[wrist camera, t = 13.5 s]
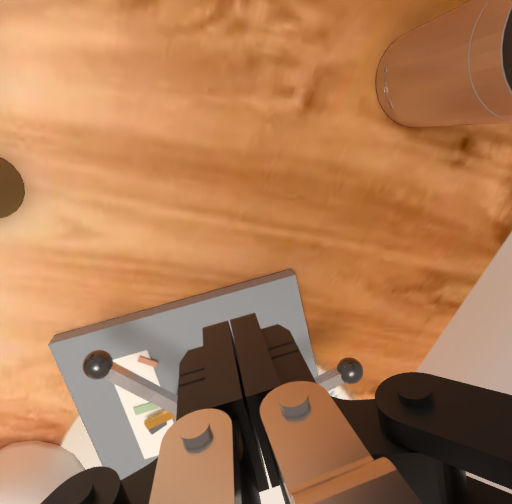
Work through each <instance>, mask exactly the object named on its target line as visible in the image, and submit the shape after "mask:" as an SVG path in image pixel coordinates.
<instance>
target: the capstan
mask: <svg viewBox="0 0 512 504" xmlns="http://www.w3.org/2000/svg"><path fill="white" fill-rule="evenodd" d="M82 368H83V372H84V373H85V375H86V376H87V377H89V378H91V379H95V380H97V379H102V378H104V379H105V380H107V381H109V382H111V383H113V384H115V385H117V386H119V387H121V388H123V389H125V390H127V391H129V392H131V393H133V394H135V395H136V396H138V397H140V398H142V399H144V400H146V401H148V402H150V403H152V404H154V405H156V406H158V407H160V408H162V409H164V410H165V411H163V412H161V413H159V414H156V415H154V416H152V417H150V418H148V419H146V420H144V425H145V426H146V428H147V429H148V430H149V429H151V428H153V427H156V426H158V425H160V424H162V423H164V422H166V421H168V420H171V419H173V418H175V417H176V414H177V398H178V389H177V392H176V395H175V394H173V393H171V392H170V391H168V390H166V389H164V388H162V387H160V386H158V385H156V384H154V383H153V382H151V381H149V380H147V379H145V378H143V377H141V376H139V375H137V374H135V373H134V372H132V371H130V370H128V369H126V368H124V367H122V366H120V365H118V364H117V363H115V362H113V359H112V357H111V355H110V354H109V353H108V352H106V351H103V350H95V351H92V352H90V353H89V354H88V355H87V356H86V357H85V359H84V361H83V365H82ZM362 376H363V368H362V365H361V364H360V362H359V361H357V360H356V359H354V358H344V359H342V360H341V361H340V362H339V364H338V366H337V368H334V369H332V370H330V371H328V372H326V373H324V374H321V375H319V376H317V377H315V378H314V379H315V381H316V383H317V384H318V385H320V386H322V387H323V388H325V389H326V391H329V390H331V389H333V388H335V387H337V386H339V385H341V384H343V383H347V384H355V383H357V382H358V381H360V379H361V378H362ZM178 388H179V386H178Z"/></svg>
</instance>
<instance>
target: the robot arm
mask: <svg viewBox="0 0 512 504" xmlns="http://www.w3.org/2000/svg"><path fill="white" fill-rule="evenodd" d="M376 91H377V95H378V99H379V102H380V104H381V106H382V108H383V110H384V111H385V112H386V114H387V115H388V116H389V117H390V118H391V119H392V120H394V121H395V122H396V123H399V124H401V125H403V126H407V127H433V126H454V125H472V124H490V123H508V122H512V0H471V1H469V2H467V3H465V4H463V5H461V6H459V7H457V8H455V9H453V10H451V11H449V12H447V13H445V14H443V15H441V16H439V17H437V18H435V19H433V20H431V21H429V22H427V23H425V24H423V25H421V26H419V27H417V28H415V29H413V30H411V31H410V32H408V33H406V34H404V35H402V36H400V37H399V38H398V39H396V40H395V41H394V42H393V43H392V44H391V45H390V46H389V48H388V49H387V50H386V52H385V53H384V55H383V57H382V59H381V61H380V64H379V67H378V70H377V77H376ZM230 323H231V327H232V332H233V335H232V332H231V329H230V325H229V322H228V321H224V322H221V323H217V324H214V325H210V326H207V327H203V328H202V332H203V346H201V347H198V348H194V349H191V350H188V351H187V352H186V354H185V355H184V357H183V359H182V360H181V362H180V365H179V381H178V386H179V388H178V398H177V414H176V422H175V423H174V424H173V425H172V426H171V427H170V428H169V429H168V430H167V432H166V433H165V435H164V437H163V439H162V442H161V446H160V451H159V456H158V457H157V458H156V459H155V460H154V461H152V462H151V463H149V464H148V465H146V466H145V467H143V468H141V469H140V470H138V471H136V472H134V473H133V474H131V475H129V476H127V477H126V478H124V479H122V480H120V478H119V475H118V474H117V472H116V471H115V470H113V469H112V468H109V467H93V468H90V469H87V470H84V471H81V472H79V473H77V474H75V475H74V476H72V477H70V478H69V479H67V480H66V481H65V482H63V483H62V484H61V485H59V486H58V487H57V488H56V489H55V490H54V491H53V492H52V493H51V494H50V495H49V496H48V497H47V498H46V499H45V500H44V501H43V502H41V503H40V504H261V501H260V496H259V492H261V491H264V490H267V489H269V486H268V481H267V476H266V472H265V467H264V463H263V458H262V454H263V457H264V461H265V464H266V468H267V471H268V475H269V478H270V482H271V485H272V487H276V486H279V485H280V487H281V490H282V494H283V497H284V500H285V504H512V494H510V493H508V492H505V491H503V490H500V489H498V488H495V487H493V486H490V485H488V484H485V483H483V482H481V481H478V480H476V479H473V478H471V477H468V476H466V472H465V471H467V472H469V473H472V474H474V475H477V476H479V477H482V478H484V479H487V480H489V481H492V482H494V483H497V484H499V485H502V486H504V487H507V488H509V489H512V395H508V394H505V393H501V392H497V391H493V390H489V389H485V388H481V387H477V386H473V385H469V384H466V383H462V382H458V381H454V380H450V379H446V378H442V377H438V376H434V375H431V374H426V373H418V372H409V373H402V374H397V375H394V376H392V377H390V378H388V379H386V380H385V381H383V382H382V383H381V384H380V385H379V386H378V388H377V390H376V393H375V399H369V400H343V399H338V398H335V397H332V396H330V395H329V393H328V392H327V391H326V389H325V388H323V387H322V386H320V385H318V384H317V383H316V381H315V379H314V377H313V375H312V373H311V371H310V370H309V368H308V366H307V364H306V362H305V360H304V358H303V356H302V354H301V352H300V350H299V348H298V346H297V344H296V343H295V340H294V338H293V336H292V334H291V332H290V330H288V329H286V328H284V327H282V326H281V325H279V324H276V325H273V326H269V327H266V328H263V329H261V328H260V325H259V323H258V320H257V317H256V314H255V313H252V314H248V315H245V316H241V317H238V318H234V319H231V320H230ZM233 337H234V339H233ZM260 447H261V449H260ZM261 451H262V453H261Z"/></svg>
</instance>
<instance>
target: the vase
mask: <svg viewBox="0 0 512 504" xmlns="http://www.w3.org/2000/svg"><path fill="white" fill-rule="evenodd" d="M84 470H85V468H84V467H83V466H82V464H81V463H80V462H79V460H78V459H77V458H76V456H75V455H74V454H72V453H71V452H69V451H67V450H66V449H64V448H62V447H60V446H59V445H57V444H52V443H47V442H42V441H37V440H32V441H24V442H16V443H11V444H9V445H7V446H5V447H3V448H1V449H0V504H40V503H41V502H43V501H44V500H45V499H46V498H47V497H48V496H49V495H50V494H51V493H52V492H53V491H54V490H55V489H56V488H57V487H58V486H59V485H61V484H62V483H63V482H65V481H66V480H67V479H69V478H70V477H72V476H74V475H75V474H77V473H79V472H81V471H84Z"/></svg>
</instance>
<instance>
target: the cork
mask: <svg viewBox="0 0 512 504" xmlns="http://www.w3.org/2000/svg"><path fill="white" fill-rule="evenodd" d="M24 194H25V192H24V183H23V180H22V178H21V176H20V174H19V172H18V171H17V170H16V169H15V167H14V166H13V165H12V164H10V163H9V162H8V161H6V160H5V159H3V158H1V157H0V218H3V217H7V216H9V215H11V214H12V213H14V212H15V211H17V209H18V208H19V206H20V205H21V204H22V201H23V198H24Z"/></svg>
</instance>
